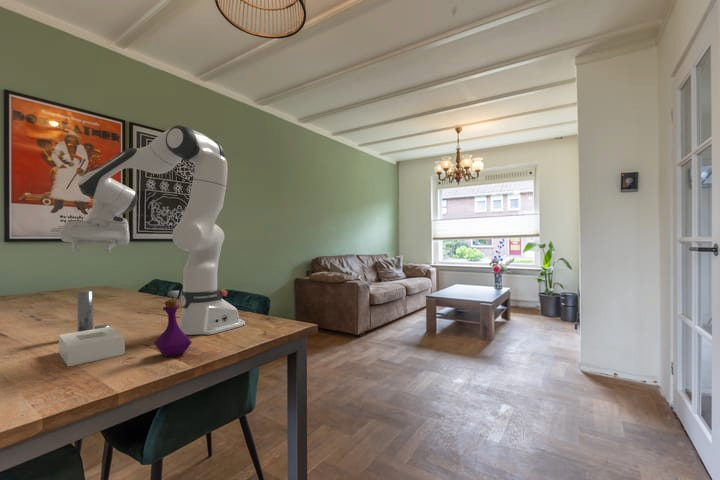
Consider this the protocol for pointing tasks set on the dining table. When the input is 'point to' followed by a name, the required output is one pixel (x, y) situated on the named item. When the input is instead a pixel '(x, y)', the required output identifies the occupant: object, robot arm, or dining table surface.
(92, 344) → the guide block
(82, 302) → the tall pin
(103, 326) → the short pin
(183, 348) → the perfume bottle
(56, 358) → the dining table surface
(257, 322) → the dining table surface
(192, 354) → the dining table surface
